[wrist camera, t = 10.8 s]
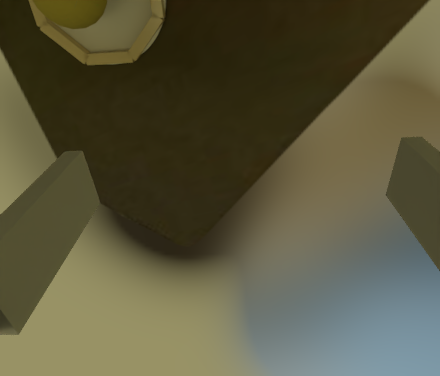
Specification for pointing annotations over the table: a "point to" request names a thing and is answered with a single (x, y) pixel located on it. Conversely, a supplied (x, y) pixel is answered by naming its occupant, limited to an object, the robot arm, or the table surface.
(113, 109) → the table surface
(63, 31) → the socket base
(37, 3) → the light bulb
